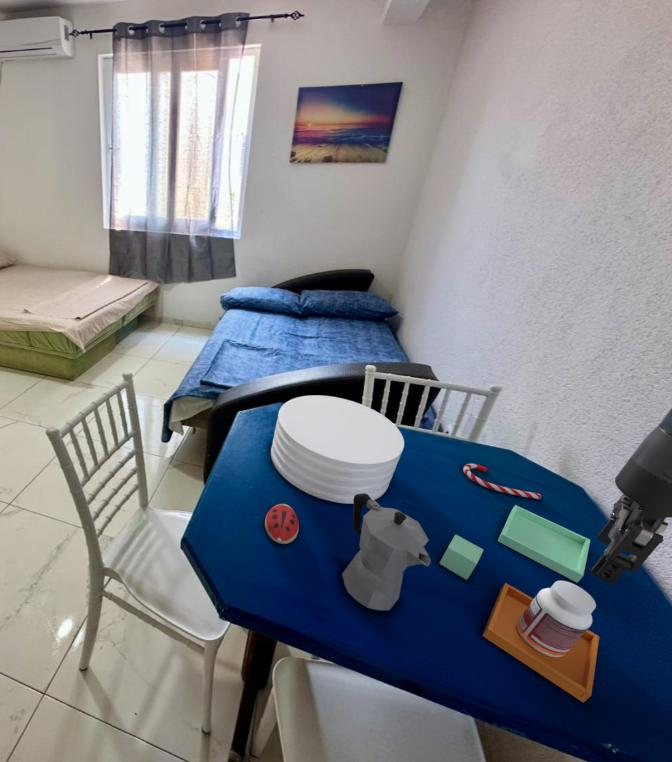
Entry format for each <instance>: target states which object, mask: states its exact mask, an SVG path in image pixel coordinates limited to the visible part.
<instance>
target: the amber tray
mask: <svg viewBox="0 0 672 762" xmlns="http://www.w3.org/2000/svg"><path fill="white" fill-rule="evenodd" d="M533 599H534V598H533V597H532V596H529V595H528V594H526V593H524V592H522V591H521V590H519V589H518V588H516V587H514V586H512V585H510V584H508V583H506V582H505V583H504V584H503V585H502V587H501V588H500V590H499V592H498V595H497V598H496V600H495V603H494V605H493V608H492V611H491V613H490V616H489V618H488V620H487V623H486V625H485V628H484V631H483V634H482V637H483V638H485V639H486V640H487V641H489V642H491V643H492V644H493V645H495V646H496V647H498V648H499V649H501V650H503V651H504V652H506V653H507V654H509V655H511V657H514V658H515V659H516V660H518V661H520V662H521V663H522V664H524V665H525V666H527V667H528V668H530V669H531V670H533V671H534V672H536V673H538V674H539V675H541V676H542V677H544V678H545V679H547V680H548V681H549V682H551V683H553V684H554V685H556V686H558V687H559V689H562V690H563V691H565V693H566V692H567V693H568V694H570V695H571V696H572V697H574V698H575V699H577V700H578V701H580V702H581V703H583V704H584V702H586V701H587V700H588V699H589V698H590V697H592V693H593V686H594V680H595V671H596V664H597V657H598V649H599V643H600V636H599V635H598V634H597V633H594V632H593V631H591V630H589V629H587V631H586V632H585V633H584V634H583V635H582V636H581V637H580V638H579V640H578V641H577V642H576V643H575V644H574V645H573V646H572V648H571V649H570V650H569V651H568V652H567V653H566V654H565V655H564V656H562V657H551V656H547V655H545V654H543V653H541V652H539V651H537V650H536V649H534V648H533V647H532V646H530V645H529V644H528V643H527V642H526V641H525V640H524V639H523V638H522V636H521V635H520V633H519V631H518V629H517V622H518V620H519V618H520V617H521V615H522V614H523V613H524V611H525V610H526V609H527V607H528V606H529V605H530V603H531V602H532V601H533Z"/></svg>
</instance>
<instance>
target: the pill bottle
mask: <svg viewBox="0 0 672 762" xmlns="http://www.w3.org/2000/svg"><path fill="white" fill-rule="evenodd" d="M596 607H597V603H596V601H595V599H594V598H593V597H592V596H591V594H590V593H588V592H587V591H586V590H585V589H583V588H582V587H581V586H578V585H576V584H575V583H572V582H570V581H566V580H557V581H555V582H554V583H553V584H552V585H551V587H546V588H542V589H540V590H539V591H538V592H537V594H536V595H535V597H534V598H533V601H532V602H531V603H530V605H529V606H528V607H527V609H526V610H525V611H524V613H523V614H522V615H521V617H520V618H519V620H518V622H517V629H518V631H519V633H520V635H521V636H522V638H523V639H524V640H525V641H526V642H527V643H528V644H529V645H530V646H532V647H533V648H534V649H536V650H537V651H539V652H541V653H543V654H545V655H547V656H551V657H562V656H564V655H565V654H566V653H567V652H568V651H569V650H570V649H571V648H572V646H573V645H574V644H575V643H576V642H577V641H578V640H579V638H580V637H581V636H582V635H583V634H584V633H585V632H586V631H587V630H589V628H590V627H591V626H592V624H593V616H592V613H593V612H594V610H596Z"/></svg>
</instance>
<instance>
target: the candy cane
mask: <svg viewBox="0 0 672 762" xmlns="http://www.w3.org/2000/svg"><path fill="white" fill-rule="evenodd" d="M471 469H473V470H478V471H480V472H482V473H485V472H487V470H488V468H487V467H485V466H482V465H481V464H477V463H467V464H465V465H464V466H463V468H462V470H463V473H464V474H465V476H466V477H467V478H468V479H469V480H471V481H472V482H474V483H476V484H477V485H479V486H482V487H484V488H487V489H490V490H493V491H496V492H499V493H504V494H508V495H512V496H517V497H523V498H529V499H533V500H535V499H536V500H541V499H542V495H541V494H540V493H538V492H537V493H536V492H531V491H525V490H520V489H515V488H510V487H507V486H501V485H498V484H494V483H491V482H488V481H486V480H484V479H481V478H480V477H478V476H476V475H474V474H473V473H472V472H471Z"/></svg>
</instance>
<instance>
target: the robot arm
mask: <svg viewBox="0 0 672 762" xmlns="http://www.w3.org/2000/svg"><path fill="white" fill-rule="evenodd" d="M614 484H615V486H616V487H617V489H618V490H619V491H620V492H621V493H622V495H621V496H620V497H619V499H618V500H617V501H616V502H614V503H613V506H612V507H613V509H612V510H611V512H610V514H609V518H610V519H609V520H608V521H607V522H606V524H605V525H604V526H603V528H602V529H601V530H600V531H599V533H598V534H597V538H596V539H597V541H599V542H601V543H603V544H604V545H607V547H606V548H605V549H604V551H603V554H602V556H600V558H599V559H598V560H597V562H596V563H595V564H594V565H593V566H592V567H591V570H590V574H591V575H592V576H593V577H595V578H597V579H599V580H601V581H603V582H605V583H607V584H610V585H612V584H616V582H617V581H618V580H619V578H620V577H622V575H623V574H624V573H625V572H626V571H628V572H630V573H632V574H635V573H637V572H638V571H639V569H640V568H641V566H642V565H643V564H644V563H645V561H647V559H648V558H649V557H650V556H651V554H652V553H653V552H654V551H655V550H656V549H657V547H658V546H659V545H661V544H662V543H663V542H664V535H663V534H664V533H665V532H666V531H667V528H668V526H669V523H668V522H667V521H665V520H666V519H668V518H669V519H670V518H672V406H671V407H670V409H669V410H668V411H667V413H666V414H665V415H664V416H663V418H662V419H661V421H660V422H659V424H658V425H657V426H656V427H654V429H653V430H652V431H650V432H649V433H648V434H647V435H646V436H645V437H644V439H643V440H642V442H640V444H639V445H638V447H637V448H636V450H635V451H634V452H633V453H632V455H631V456H630V458H629V459H628V460H627V461H626V463H625V464H624V466H623V467H622V468H621V469H620V471H619V472H618V473H617V474H616V477H615V479H614ZM622 552H625V553H622ZM626 553H629V554H630V555H627V554H626Z"/></svg>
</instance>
